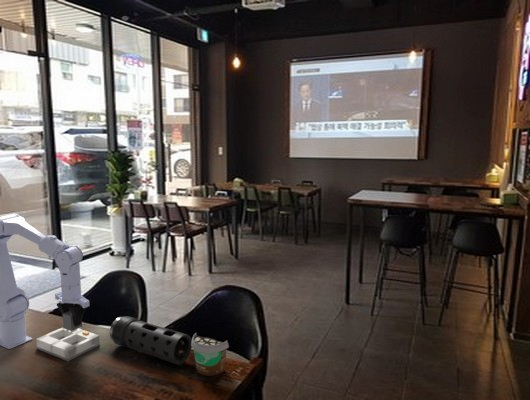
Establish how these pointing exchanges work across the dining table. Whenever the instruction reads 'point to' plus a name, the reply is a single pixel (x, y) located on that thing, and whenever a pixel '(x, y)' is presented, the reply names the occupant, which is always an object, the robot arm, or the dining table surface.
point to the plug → (69, 322)
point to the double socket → (67, 343)
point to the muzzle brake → (151, 339)
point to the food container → (209, 355)
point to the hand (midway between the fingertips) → (73, 323)
